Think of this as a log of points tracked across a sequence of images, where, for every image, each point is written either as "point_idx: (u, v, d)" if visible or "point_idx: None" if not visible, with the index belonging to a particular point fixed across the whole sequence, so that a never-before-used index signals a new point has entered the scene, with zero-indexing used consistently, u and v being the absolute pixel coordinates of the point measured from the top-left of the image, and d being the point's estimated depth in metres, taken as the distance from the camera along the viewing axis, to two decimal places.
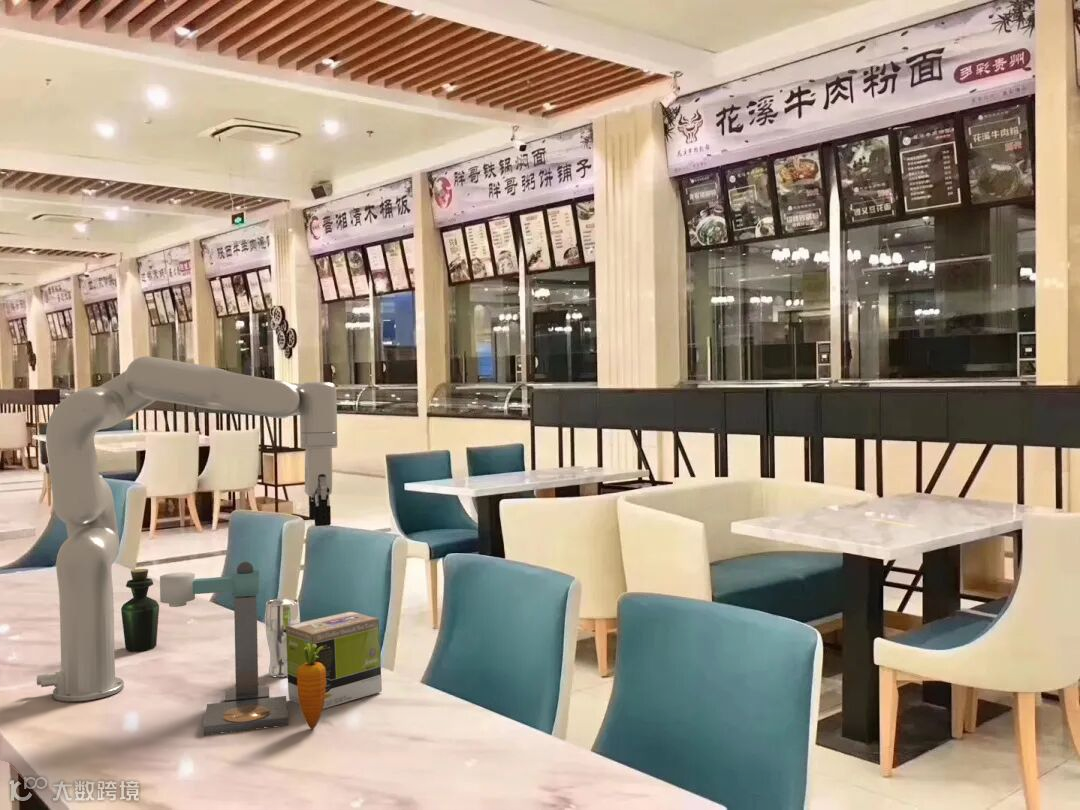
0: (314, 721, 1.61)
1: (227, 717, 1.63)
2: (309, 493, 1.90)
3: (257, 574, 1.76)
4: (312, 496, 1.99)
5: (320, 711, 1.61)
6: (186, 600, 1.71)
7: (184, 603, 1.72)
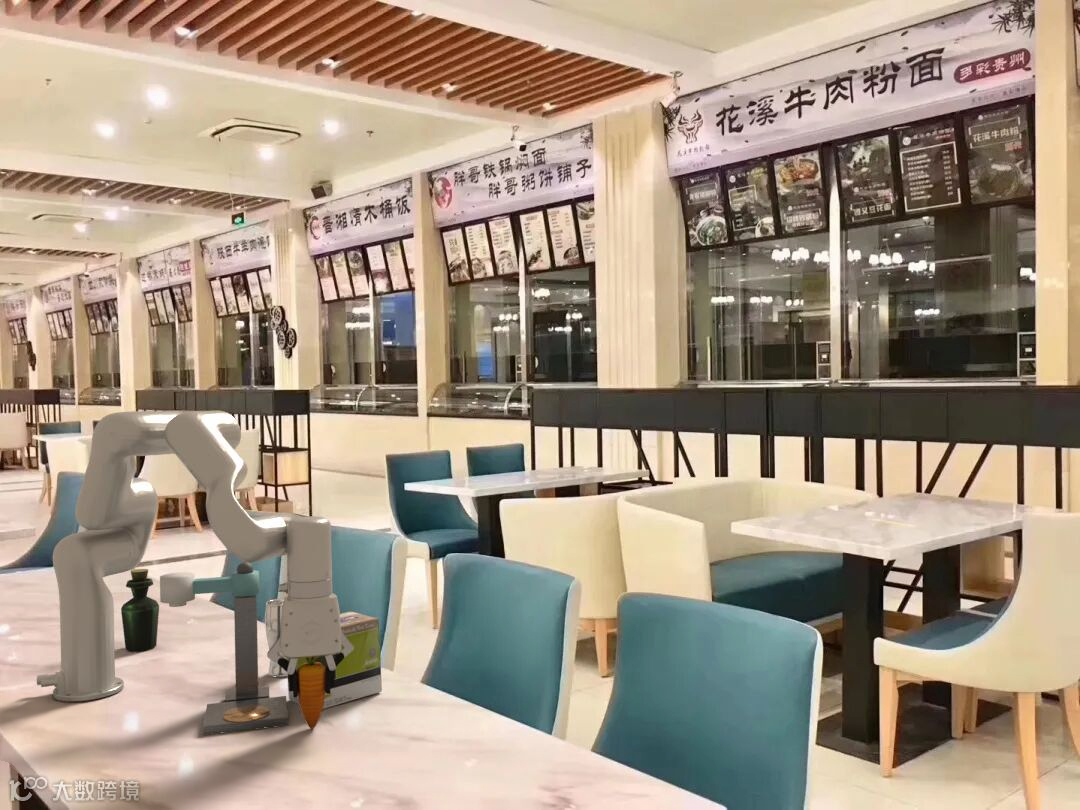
0: (314, 721, 1.61)
1: (227, 717, 1.63)
2: (339, 650, 1.60)
3: (257, 574, 1.76)
4: (295, 665, 1.60)
5: (320, 711, 1.61)
6: (186, 600, 1.71)
7: (184, 603, 1.72)
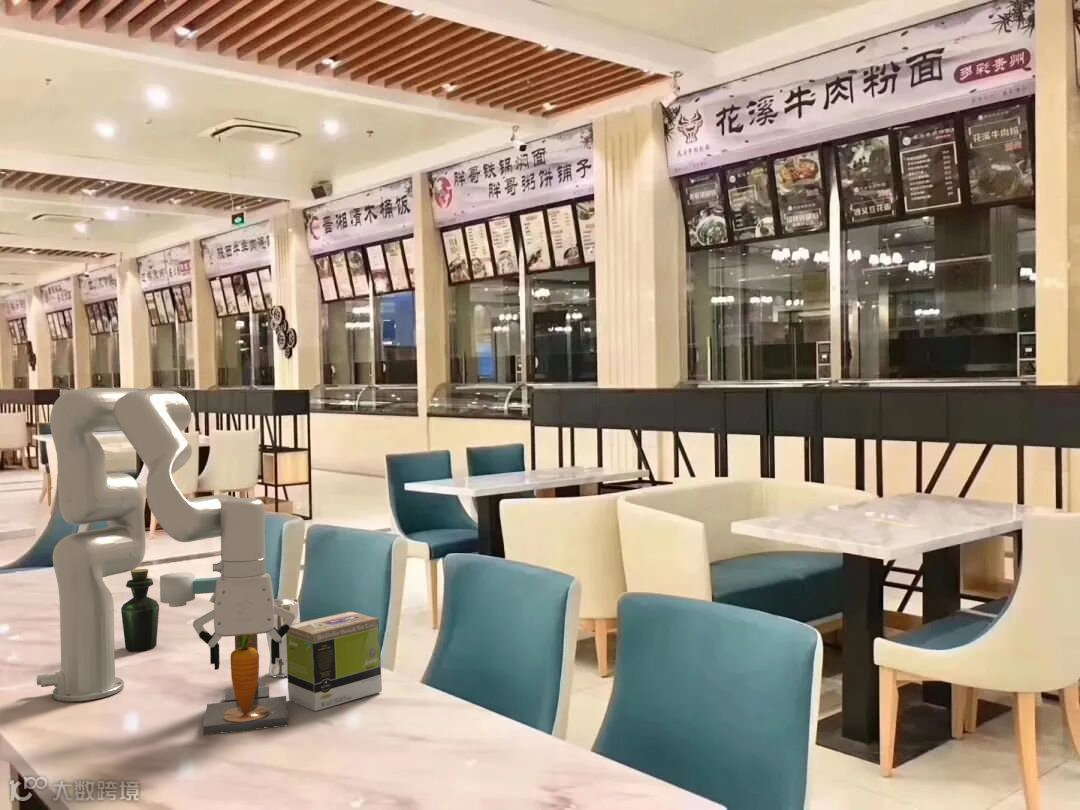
0: (247, 705, 1.64)
1: (227, 717, 1.63)
2: (271, 628, 1.64)
3: None
4: (218, 640, 1.63)
5: (253, 695, 1.65)
6: (186, 600, 1.71)
7: (184, 603, 1.72)
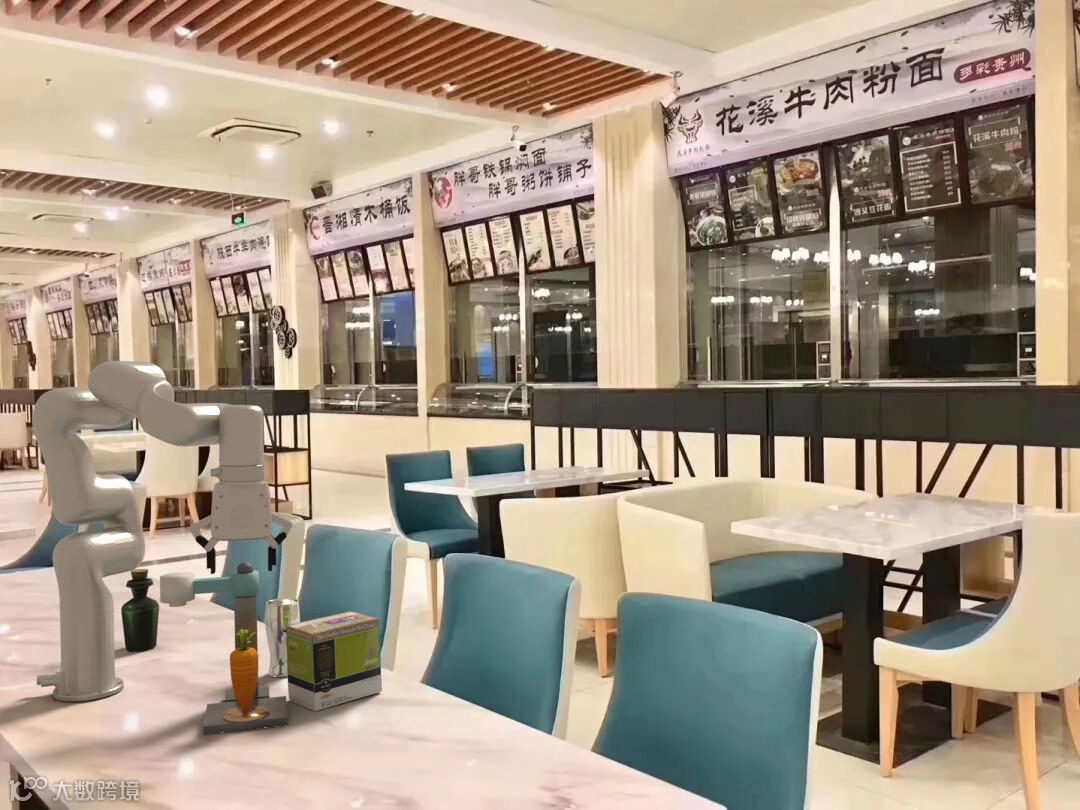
0: (247, 705, 1.64)
1: (227, 717, 1.63)
2: (268, 534, 1.64)
3: (257, 574, 1.76)
4: (215, 544, 1.62)
5: (253, 695, 1.65)
6: (186, 600, 1.71)
7: (184, 603, 1.72)
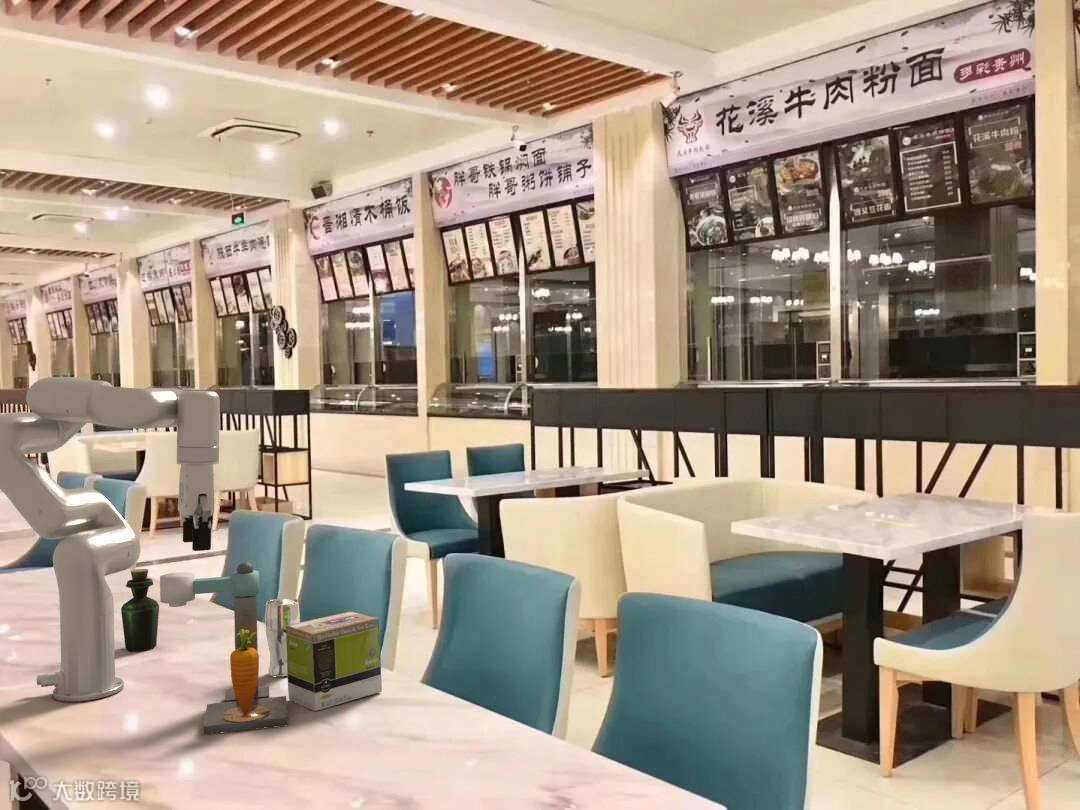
0: (247, 705, 1.64)
1: (227, 717, 1.63)
2: (187, 514, 1.71)
3: (257, 574, 1.76)
4: None
5: (253, 695, 1.65)
6: (186, 600, 1.71)
7: (184, 603, 1.72)
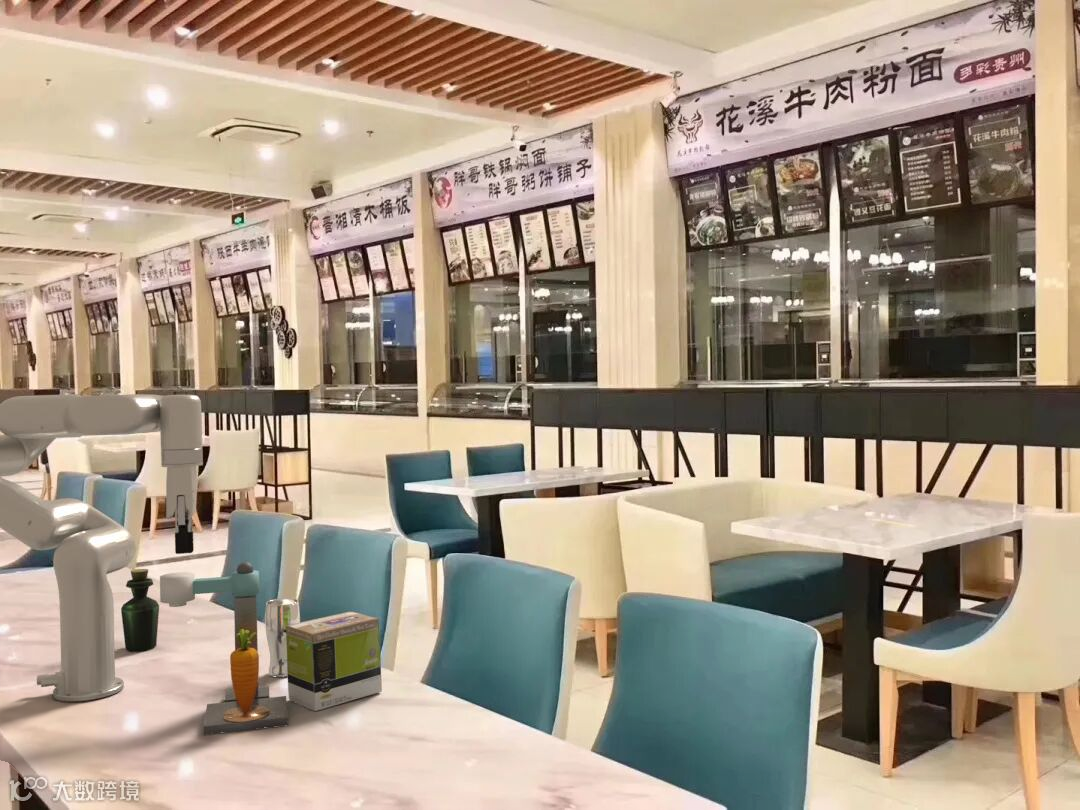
0: (247, 705, 1.64)
1: (227, 717, 1.63)
2: (167, 515, 1.75)
3: (257, 574, 1.76)
4: None
5: (253, 695, 1.65)
6: (186, 600, 1.71)
7: (184, 603, 1.72)
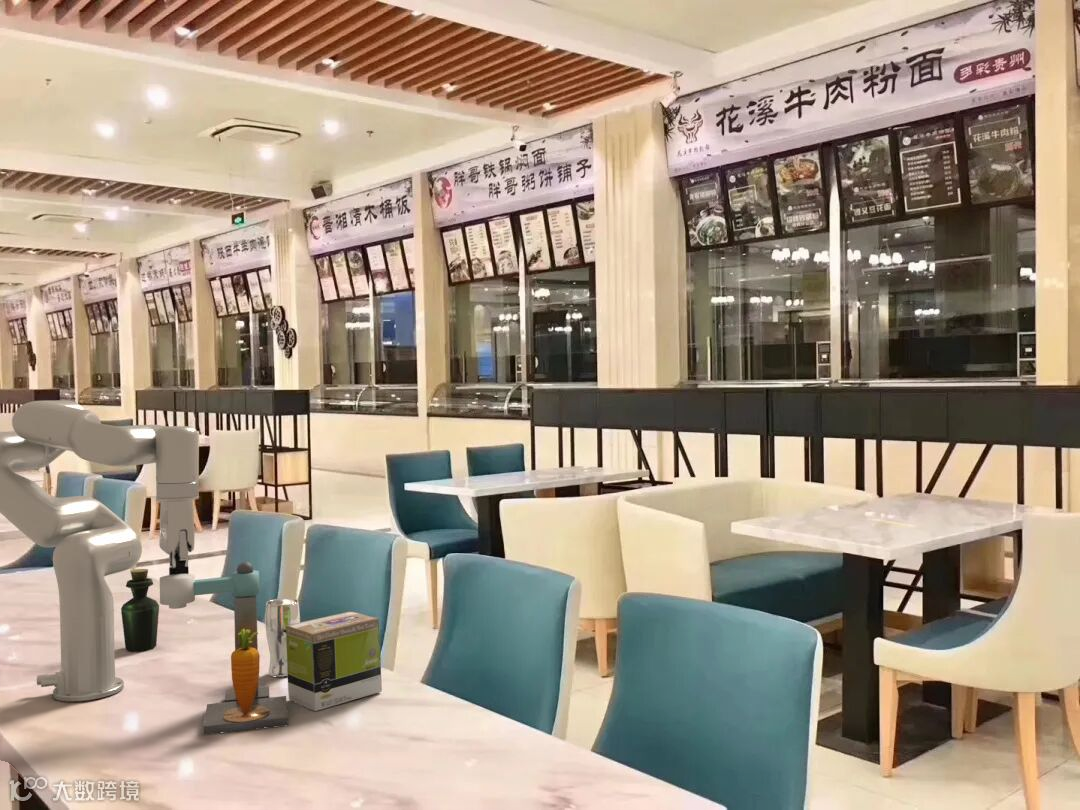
0: (247, 705, 1.64)
1: (227, 717, 1.63)
2: (168, 551, 1.71)
3: (258, 574, 1.76)
4: (171, 557, 1.76)
5: (253, 695, 1.65)
6: (188, 601, 1.70)
7: (185, 604, 1.71)
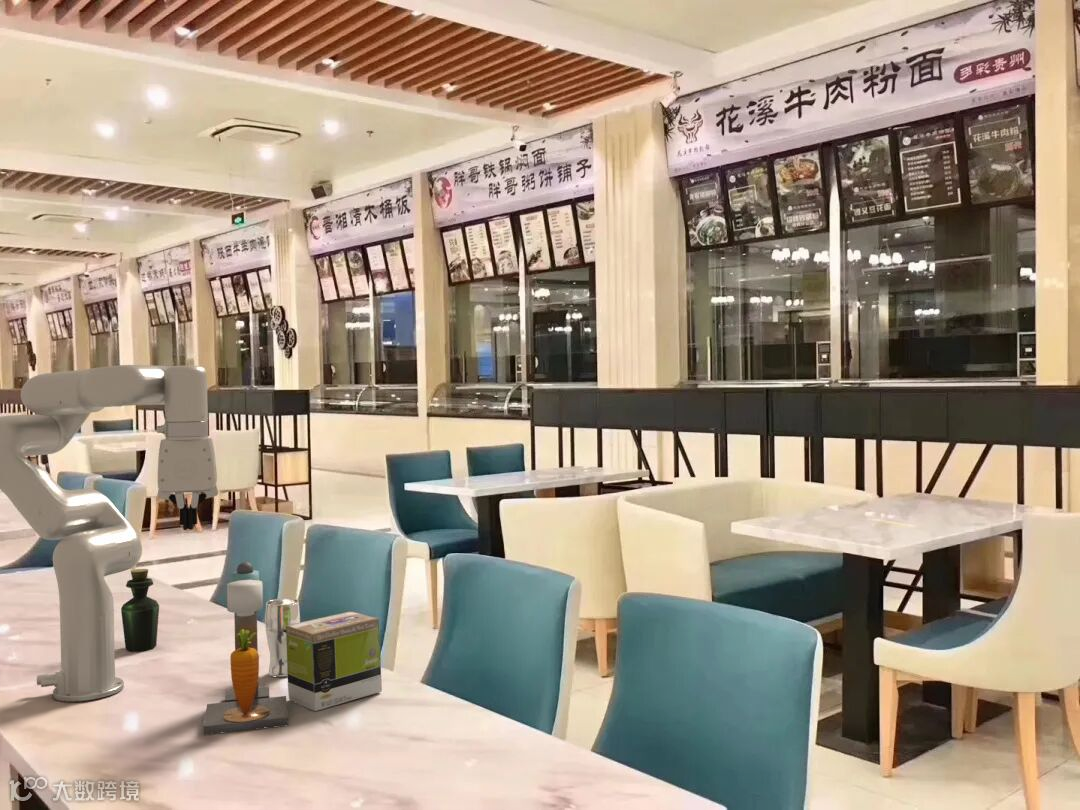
0: (247, 705, 1.64)
1: (227, 717, 1.63)
2: (212, 487, 1.74)
3: None
4: (183, 499, 1.74)
5: (253, 695, 1.65)
6: None
7: None
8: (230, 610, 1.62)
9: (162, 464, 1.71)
